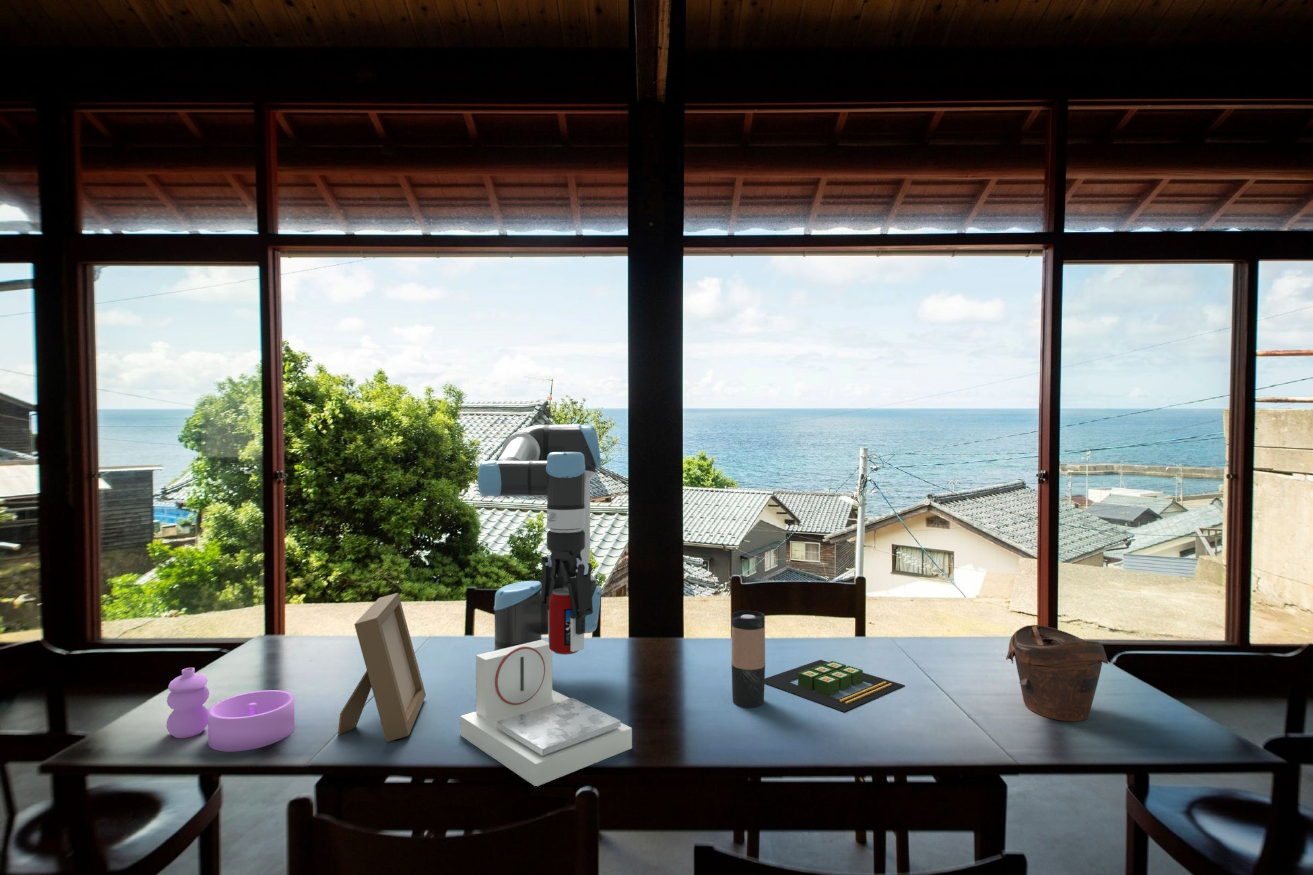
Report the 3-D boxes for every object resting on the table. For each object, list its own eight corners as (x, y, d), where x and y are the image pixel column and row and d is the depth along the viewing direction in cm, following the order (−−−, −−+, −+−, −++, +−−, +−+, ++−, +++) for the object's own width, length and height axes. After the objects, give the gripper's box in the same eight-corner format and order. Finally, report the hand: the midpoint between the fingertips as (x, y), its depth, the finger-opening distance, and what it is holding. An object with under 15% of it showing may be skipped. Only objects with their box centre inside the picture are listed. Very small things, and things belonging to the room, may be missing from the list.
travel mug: (769, 698, 163) (769, 612, 163) (759, 710, 156) (759, 620, 156) (737, 693, 166) (737, 608, 166) (726, 704, 160) (726, 616, 159)
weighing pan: (496, 727, 137) (496, 721, 137) (572, 703, 149) (572, 697, 149) (542, 755, 125) (542, 748, 125) (620, 726, 137) (620, 720, 137)
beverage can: (577, 656, 136) (577, 594, 136) (544, 655, 137) (543, 593, 137) (587, 646, 142) (587, 587, 142) (555, 645, 144) (555, 586, 144)
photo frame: (426, 699, 163) (423, 591, 162) (408, 740, 141) (406, 616, 141) (358, 704, 160) (355, 594, 160) (330, 746, 139) (327, 620, 138)
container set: (309, 720, 151) (308, 659, 151) (265, 753, 136) (265, 685, 136) (197, 717, 153) (197, 657, 153) (142, 749, 138) (141, 682, 137)
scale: (460, 735, 144) (460, 652, 143) (550, 706, 158) (550, 631, 158) (535, 786, 123) (535, 690, 123) (631, 748, 138) (631, 662, 138)
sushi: (843, 715, 155) (843, 698, 155) (758, 684, 174) (758, 669, 174) (904, 688, 171) (905, 673, 171) (820, 662, 190) (820, 649, 190)
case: (1020, 686, 171) (1021, 613, 170) (1117, 710, 156) (1118, 630, 156) (992, 708, 158) (993, 629, 158) (1094, 736, 144) (1095, 649, 143)
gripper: (522, 526, 144) (522, 639, 144) (580, 536, 130) (580, 661, 130) (553, 523, 149) (553, 632, 149) (612, 532, 135) (612, 652, 135)
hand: (566, 645), depth 140 cm, fingers closed on beverage can, 7 cm apart
